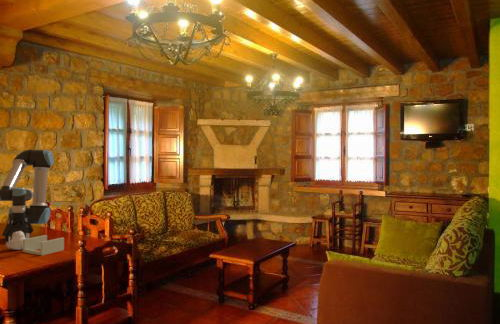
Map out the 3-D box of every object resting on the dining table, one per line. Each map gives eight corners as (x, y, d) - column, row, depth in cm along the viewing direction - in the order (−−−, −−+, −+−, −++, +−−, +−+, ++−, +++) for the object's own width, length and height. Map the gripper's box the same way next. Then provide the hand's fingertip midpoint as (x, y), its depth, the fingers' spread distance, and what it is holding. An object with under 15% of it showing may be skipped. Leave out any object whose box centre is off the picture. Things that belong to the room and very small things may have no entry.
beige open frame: (22, 252, 256) (23, 239, 256) (45, 246, 271) (45, 235, 271) (42, 255, 249) (42, 242, 249) (64, 250, 265) (64, 237, 264)
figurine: (29, 247, 268) (29, 229, 268) (23, 251, 259) (23, 232, 258) (12, 247, 267) (13, 229, 266) (6, 251, 257) (6, 232, 257)
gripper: (4, 214, 249) (3, 249, 249) (39, 210, 272) (39, 242, 272) (-4, 213, 252) (-5, 247, 252) (31, 209, 275) (31, 240, 275)
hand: (18, 244), depth 262 cm, fingers open, 13 cm apart
